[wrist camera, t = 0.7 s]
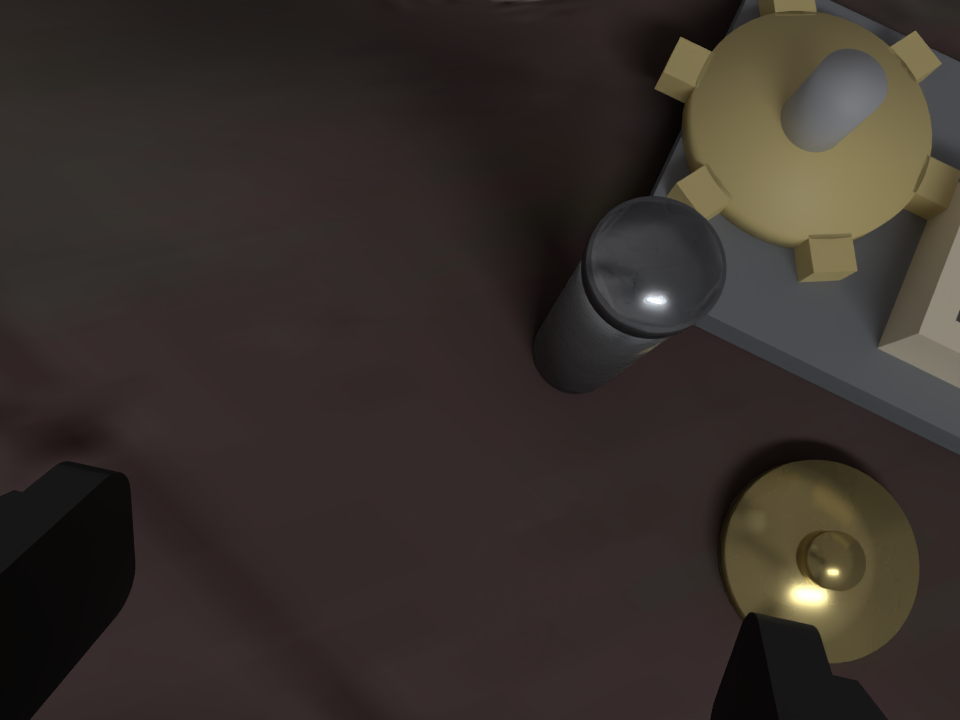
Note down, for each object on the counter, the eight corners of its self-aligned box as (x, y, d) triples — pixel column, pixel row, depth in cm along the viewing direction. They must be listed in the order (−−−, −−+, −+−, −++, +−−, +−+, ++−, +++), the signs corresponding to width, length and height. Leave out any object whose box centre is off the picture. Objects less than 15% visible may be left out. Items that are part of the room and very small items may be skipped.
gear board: (567, 263, 31) (598, 209, 25) (708, -25, 33) (763, -130, 28) (1038, 494, 30) (1175, 490, 25) (1143, 182, 33) (1287, 117, 27)
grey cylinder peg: (515, 371, 30) (563, 292, 19) (553, 292, 30) (622, 172, 20) (597, 412, 30) (693, 356, 19) (634, 332, 30) (747, 234, 20)
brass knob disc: (702, 636, 29) (724, 646, 27) (728, 445, 30) (751, 440, 28) (890, 673, 29) (927, 687, 27) (907, 481, 30) (944, 479, 28)
